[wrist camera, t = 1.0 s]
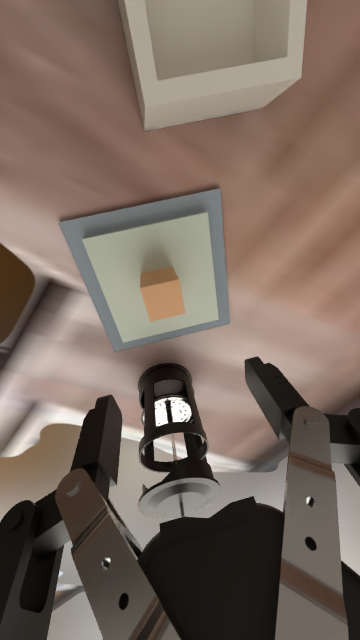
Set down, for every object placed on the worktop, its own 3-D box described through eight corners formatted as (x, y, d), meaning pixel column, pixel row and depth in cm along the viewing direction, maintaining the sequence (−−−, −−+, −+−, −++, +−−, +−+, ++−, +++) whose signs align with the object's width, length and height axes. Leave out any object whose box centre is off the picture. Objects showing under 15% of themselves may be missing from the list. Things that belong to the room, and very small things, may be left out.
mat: (218, 188, 24) (220, 188, 23) (228, 322, 33) (229, 323, 32) (59, 222, 23) (58, 222, 22) (115, 349, 32) (114, 351, 32)
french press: (123, 383, 36) (101, 612, 16) (165, 351, 34) (199, 564, 14) (168, 413, 41) (194, 610, 21) (206, 386, 39) (274, 575, 19)
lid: (204, 211, 24) (222, 214, 19) (216, 315, 31) (231, 338, 26) (84, 238, 24) (67, 248, 18) (123, 337, 31) (120, 366, 25)
